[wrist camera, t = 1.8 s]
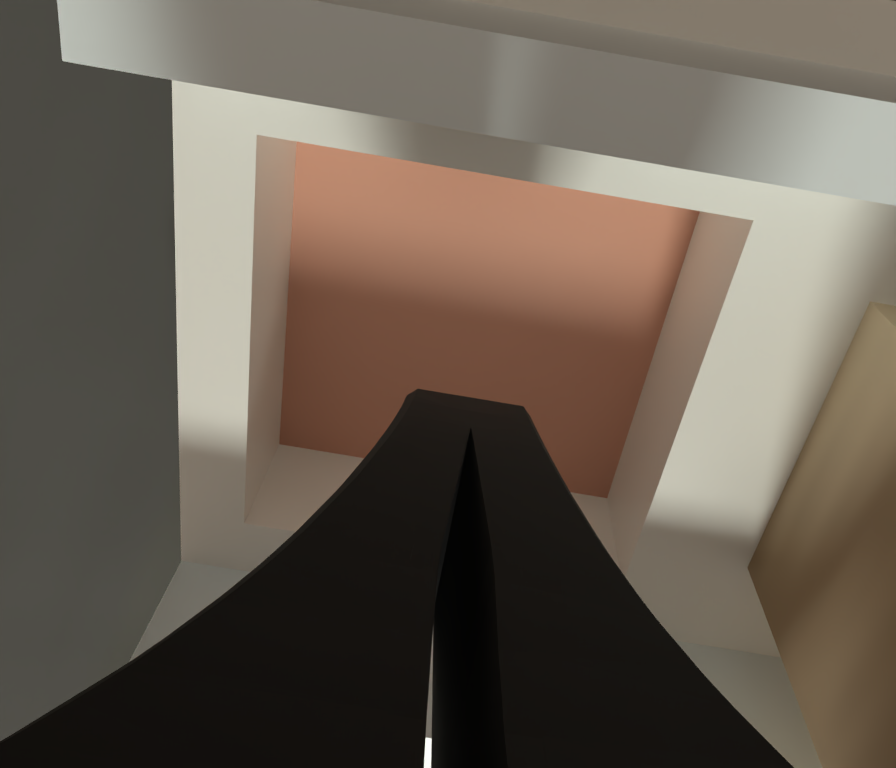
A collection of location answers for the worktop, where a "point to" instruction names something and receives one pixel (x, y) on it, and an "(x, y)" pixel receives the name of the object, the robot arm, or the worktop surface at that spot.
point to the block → (841, 559)
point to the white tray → (521, 264)
